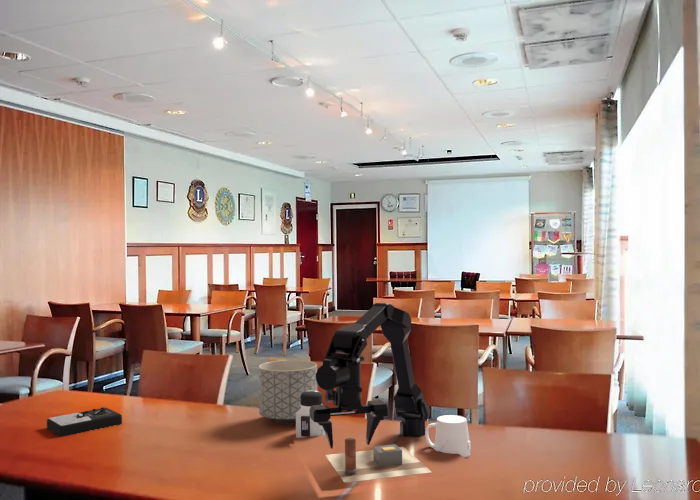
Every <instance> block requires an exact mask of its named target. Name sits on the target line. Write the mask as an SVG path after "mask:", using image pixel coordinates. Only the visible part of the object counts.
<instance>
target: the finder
mask: <svg viewBox="0 0 700 500" xmlns="http://www.w3.org/2000/svg"><path fill="white" fill-rule="evenodd" d="M399 447H400V446H398V445H397V444H396V443H395V444H393V443H392V444H386V445H385V444H384V445H375V446H373V447H372V448H373V449H372V450H373V455H374V461H375V462H376V463H377V464H378V466H379V467H382V466H391V465H400V464H402V450H401V449H400V448H399Z"/></svg>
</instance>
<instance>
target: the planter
mask: <svg viewBox="0 0 700 500" xmlns="http://www.w3.org/2000/svg"><path fill="white" fill-rule="evenodd" d="M317 370H318V364H317V363H316V362H315V361H310V360H300V359H298V360H297V359H283V360H273V361H268V362H267V361H266V362H263V363H261V364H259V365H258V409H259V410H258V414H259V415H260V416H261V417H263V418H267V419H269V420H270V421H272V422H275V423H277V424H281V425H282V424H283V425H290V424H291V425H292V424H296V412H297V411H298V410H299V409H301V402H300V395H301V393H303V392H305V391H318V384H317V382H316V373H317Z"/></svg>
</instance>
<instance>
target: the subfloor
mask: <svg viewBox="0 0 700 500" xmlns="http://www.w3.org/2000/svg"><path fill="white" fill-rule="evenodd" d="M398 447H399V448H400V449H401V450H402V464H400V465H391V466H382V467H379V466H378V464H377V463H376V462H375V461H374V455H373V449H369V450H360V451H356V474H354V475H347V474H345V452H341V453H333V454H332V453H331V454H325V455H324V456H325V458H326V459H327V460H328V461H329V463H330V464H331V466H332V467H333V468H334V470H335V472H336V473H337V474H338V476H339V477H340V479H341V480H342V482H343V483H345V484H346V483H355V482H360V481H361V482H363V481H370V480H371V481H372V480H381V479H389V478H395V477H405V476H413V475H414V476H415V475H421V474H428V473H429V474H431V473H432V471H431V470H430V469H429V468H428V467H427V466H426V465H424V464H423V463H422V462H421V461H420V460H419V459H418V458H417V457H415V456H414V455H413V454H412V453H411V452H410V451H409V450H407V449H406V448H405V447H404V446H398Z"/></svg>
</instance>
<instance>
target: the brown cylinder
mask: <svg viewBox="0 0 700 500" xmlns="http://www.w3.org/2000/svg"><path fill="white" fill-rule="evenodd" d="M356 442H357V441H356V439H355V438H353V437H351V438H345V439H344V453H345V474H347V475H354V474H356V452H357V451H356V450H357V447H356V445H357V443H356Z"/></svg>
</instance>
